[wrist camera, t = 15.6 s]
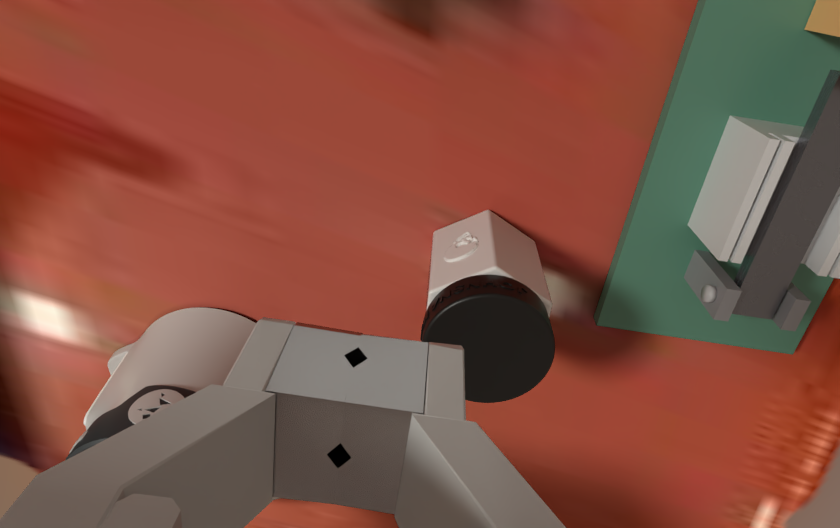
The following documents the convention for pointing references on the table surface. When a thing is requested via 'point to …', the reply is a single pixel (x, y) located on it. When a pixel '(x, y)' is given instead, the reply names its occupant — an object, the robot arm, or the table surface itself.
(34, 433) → the table surface
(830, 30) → the tan wooden block
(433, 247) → the jar
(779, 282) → the dark grey flat bar
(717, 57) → the board
